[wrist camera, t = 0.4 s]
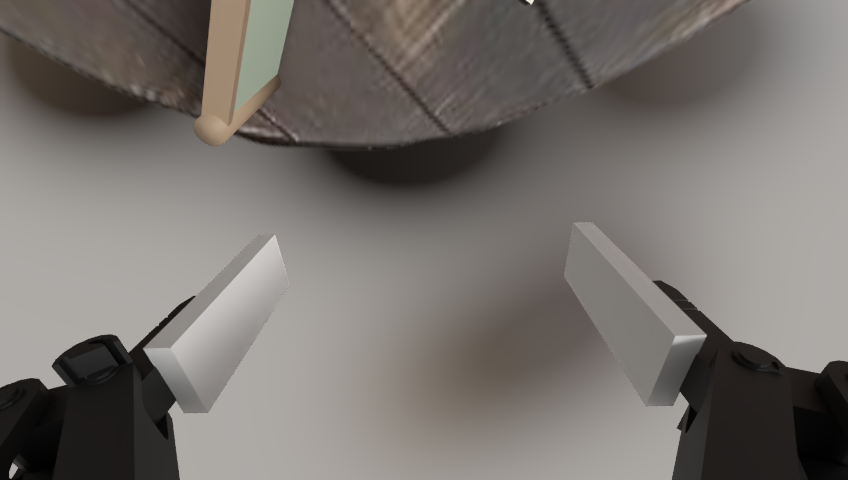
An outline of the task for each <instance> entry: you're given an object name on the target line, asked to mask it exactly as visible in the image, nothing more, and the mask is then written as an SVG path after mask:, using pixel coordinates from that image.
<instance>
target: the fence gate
mask: <svg viewBox="0 0 848 480" xmlns="http://www.w3.org/2000/svg"><path fill="white" fill-rule="evenodd" d="M293 3H294V0H212V3H211V14H210V24H209V35H208V46H207V57H206V68H205V79H204V90H203V101H202V112H201V116H200V117H199V118H198V119H196V120H195V122H194V124H193V128H194V131H195V133H196V135H197V136H198V137H199V139H200V140H202V141H203V142H205V143H206V144H209V145H211V146H220V145H222V144H223V143H224V142H225V141H226V140H227V139H228V138H229V137H230V136H231V135H232V134H233V133H234V132H235V131H236V130H237V129H238V128H239V127H240V126H241V125H242V124H243V123H244V122H245V121H246V120H247V119H248V118H249V117H250V116H251V115H252V114H253V113H254V112H255V111H256V110H257V109H258V108H259V107H260V106H261V105H262V104H263V103H264V102H265V101H266V100H267V99H268V98H269V97H270V96H271V95H272V94H273V93H274V92H275V91H276V90H277V89H278V88H279V87H280V84H281V82H280V78H279V76H278V74H277V73H278V69H279V64H280V60H281V56H282V51H283V47H284V42H285V38H286V34H287V29H288V25H289V20H290V16H291V12H292V7H293Z"/></svg>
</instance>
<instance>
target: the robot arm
mask: <svg viewBox="0 0 848 480" xmlns="http://www.w3.org/2000/svg"><path fill="white" fill-rule="evenodd" d="M564 277H565V278H566V280H567V281H568V283H569V284H570V286H571V288H572V289H573V291H574V292H575V294H576V296H577V297H578V299H579V301H580V302H581V304H582V305H583V307H584V308H585V310H586V312H587V313H588V315H589V316H590V318H591V320H592V321H593V323H594V324H595V326H596V328H597V329H598V331H599V332H600V334H601V336H602V337H603V339H604V340H605V342H606V343H607V345H608V346H609V348H610V350H611V351H612V353H613V355H614V356H615V358H616V359H617V361H618V362H619V364H620V366H621V367H622V369H623V371H624V372H625V374H626V375H627V377H628V378H629V380H630V382H631V383H632V385H633V386H634V388H635V389H636V391H637V392H638V394H639V396H640V398H641V399H642V401H643V402H644V404H645V405H646V406H673V405H674V402H675V401H676V398H677V396H678V394H679V392H681V393H682V395H683V396H684V397H685V398H686V400H687V401H688V403H689V405H688V407H687V409H686V411H685V414H684V415H683V417H682V419H681V421H680V423H679V425H678V427H677V429H679V430H681V436H680V441H679V446H678V452H677V456H676V462H675V466H674V472H673V476H672V480H848V362H845V361H832V362H830V363H829V364H828V365H827V366H826V367H825V368H824V370H823V371H822V372H821V374H819V373H814V372H809V371H804V370H799V369H794V368H789V367H786V366H785V365H783V364H782V363H781V362H780V361H779V360H778V359H777V358H776V357H774V356H772V355H771V354H769V353H768V352H766V351H764V350H762V349H760V348H758V347H755V346H753V345H750V344H746V343H742V342H733V341H732V340H731V339H730V338H729V337H728V336H727V335H726V334H725V333H724V332H722V331H721V330H720V329H719V328H718V327H717V326H716V325H715V324H714V323H713V322H712V321H711V320H709V319H708V318H707V317H706V316H705V315H704V314H703V313H702V312H701V311H698V310H697V308H696V307H695V306H694V305H693V304H692V303H691V302H688V300H687V298H685V297H684V296H683V295H682V294H681V293H680V292H679V291H678V290H677V289H675V288H673V287H671V286H670V285H668V284H666V283H664V282H662V281H651V280H650V279H649V278H648V277H647V276H646V275H645V274H644V273H643V272H642V271H641V270H640V269H639V268H638V267H637V266H636V265H635V264H634V263H633V262H632V261H631V260H630V259H629V258H628V257H627V256H626V255H625V254H624V253H623V252H622V251H621V250H620V249H619V248H617V247H616V246H615V245H614V243H613V242H611V240H609V239H608V238H607V237H606V236H605V235H604V234H603V233H602V232H601V231H600V230H599V229H598V228H597V227H596V226H595V225H594V224H593V223H592V222H583V223H574V224H573V229H572V235H571V240H570V246H569V251H568V257H567V263H566V268H565V273H564ZM289 286H290V282H289V279H288V276H287V272H286V269H285V266H284V263H283V259H282V256H281V253H280V249H279V246H278V243H277V240H276V236H275V234H273V235H258V236H257V237H256V238H255V239H254V240H253V241H252V242H251V243H250V244H249V245H248V246H247V247H246V248H245V249H244V250H243V251H242V252H240V254H239V255H238V256H236V257H235V258H234V259H233V260H232V261H231V262H230V263H229V264H228V265H227V266H226V267H225V268H224V269H223V270H222V271H221V272H220V273H219V274H218V275H217V276H216V277H215V278H214V279H213V280H212V281H211V282H210V283H209V284H208V285H207V286H206V287H205V288H204V289H203V290H202V291H201V292H200V293H199V294H198V295H197V296H193V297H191V298H189V299H188V300H186V301H185V302H183V303H181V304H180V305H179V306H178V307H176V308H175V309H174V310H173V311H172V312H171V313H170V314H169V315H168V318H165V319H164V320H163V321H162V322H160V323H159V326H157V327H155V328H154V329H153V330H152V331H151V332H150V333H149V334H148V335H147V336H146V337H145V338H144V339H143V340H142V341H141V342H140V343H138V345H137V346H135V347H134V348H133V349H132V350H131V351H130V352H129V353H128V352H127V350H126V349H125V348H124V346H123V344H122V343H121V342H120V340H119V339H118V337H117V336H115V335H111V334H110V335H101V336H97V337H94V338H90V339H88V340H85V341H84V342H81V343H79V344H76V345H75V346H73V347H72V348H70V349H68V350H67V351H65V352H64V353H63V354H62V355H60V356H59V357H58V358H57V359H56V360H55V362H54V363H53V365H52V368H53V369H54V370H55V371H56V372H57V374H58V375H59V376H60V377H61V378H62V379H63V381H64V382H65V383H66V384H67V385H64V386H60V387H56V388H52V389H49V390H48V389H47V388H46V387H45V386H44V384H43V383H42V382H41V381H40V380H39V379H34V378H29V379H24V380H19V381H17V382H14V383H11V384H8V385H6V386H3V387H1V388H0V480H180V478H179V470H178V462H177V454H176V446H175V439H174V430H173V422H172V418H171V416H170V414H169V413H168V410H169V409H170V408H171V406H172V405H173V404H174V403H175V401H177V403H178V405H179V406H180V408H181V409H182V411H183V412H184V413H208V412H209V410H210V409H211V407H212V406H213V404H214V403H215V401H216V399H217V398H218V396H219V395H220V393H221V392H222V390H223V388H224V387H225V385H226V384H227V382H228V381H229V379H230V377H231V376H232V375H233V373H234V371H235V370H236V368H237V367H238V365H239V364H240V362H241V361H242V359H243V357H244V356H245V354H246V353H247V351H248V350H249V348H250V346H251V345H252V343H253V342H254V340H255V339H256V337H257V336H258V334H259V332H260V331H261V329H262V328H263V326H264V325H265V323H266V322H267V320H268V318H269V317H270V315H271V314H272V312H273V311H274V309H275V307H276V306H277V304H278V303H279V301H280V300H281V298H282V297H283V295H284V293H285V292H286V290H287V289H288V287H289ZM12 463H14V464H15V465H16V466H17V467H18V469H17V471H16V473H15V474H14V476H13V477H12V479H10V478H9V470H10V468H11V465H12Z"/></svg>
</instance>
